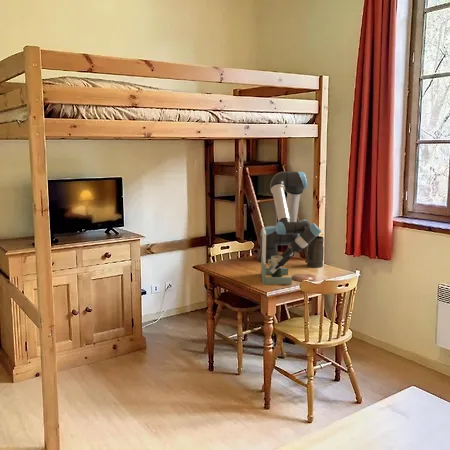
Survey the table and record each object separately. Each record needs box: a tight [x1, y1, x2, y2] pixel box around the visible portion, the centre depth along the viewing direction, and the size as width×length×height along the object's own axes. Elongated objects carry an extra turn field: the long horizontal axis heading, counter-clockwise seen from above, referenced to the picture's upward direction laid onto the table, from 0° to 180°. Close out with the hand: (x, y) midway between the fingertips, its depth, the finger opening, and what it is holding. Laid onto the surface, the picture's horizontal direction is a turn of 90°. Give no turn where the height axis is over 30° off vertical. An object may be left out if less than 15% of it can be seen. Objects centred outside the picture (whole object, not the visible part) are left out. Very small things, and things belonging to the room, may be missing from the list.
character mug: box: [267, 255, 287, 277], centre depth 317 cm, size 11×7×13 cm, turn 86°
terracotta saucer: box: [292, 273, 317, 282], centre depth 320 cm, size 14×14×1 cm
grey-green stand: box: [260, 226, 293, 286], centre depth 316 cm, size 17×24×30 cm
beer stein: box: [303, 235, 325, 269], centre depth 349 cm, size 15×11×20 cm
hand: (270, 270), depth 318 cm, fingers closed on character mug, 7 cm apart
